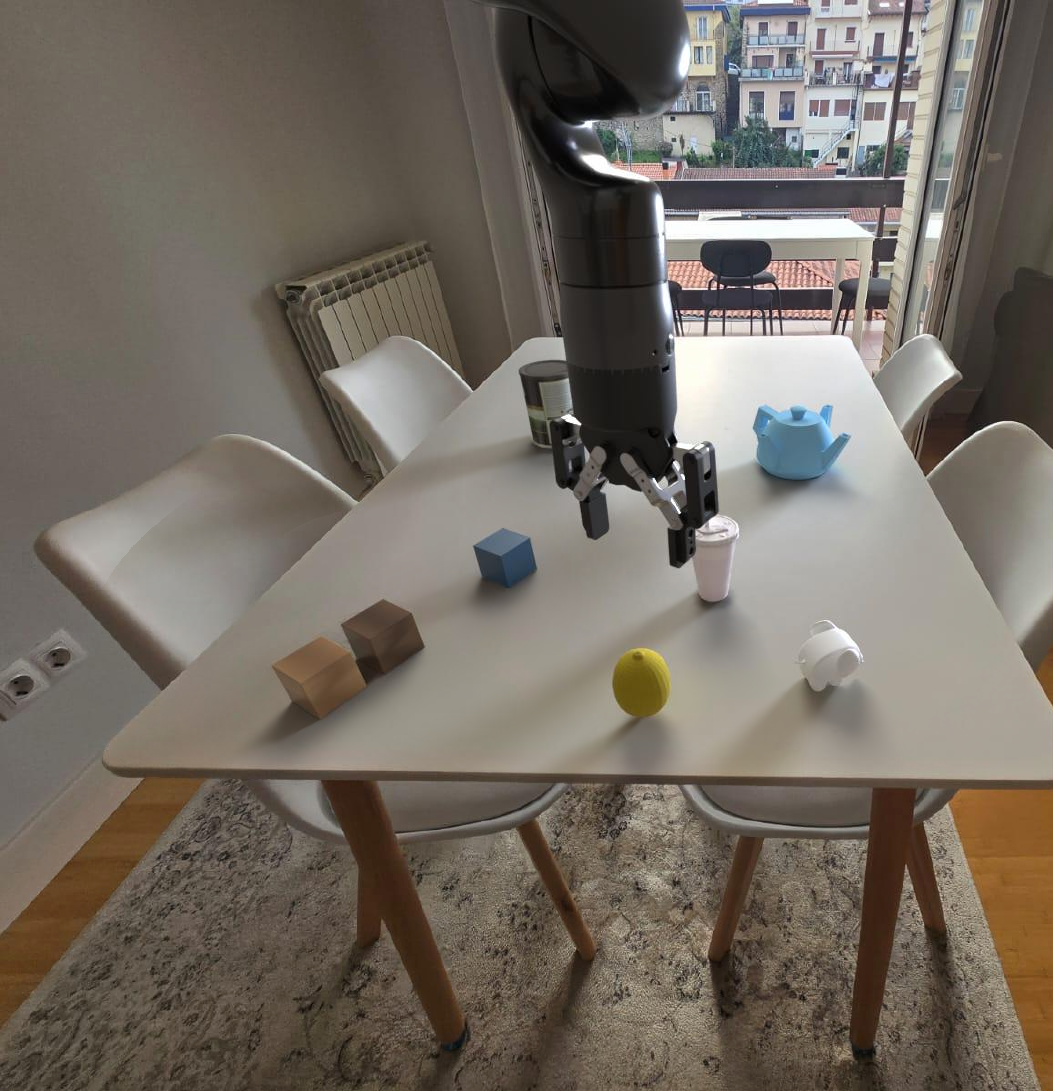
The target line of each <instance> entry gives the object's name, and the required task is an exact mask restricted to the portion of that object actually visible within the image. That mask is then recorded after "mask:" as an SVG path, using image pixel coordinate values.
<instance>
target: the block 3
mask: <svg viewBox="0 0 1053 1091" xmlns="http://www.w3.org/2000/svg"><path fill="white" fill-rule="evenodd" d="M472 548H473V551H474V554H475V558H476V561H477V564H478V568H479V572H480V575H481V578H483V579H485V580H488V581H490V582H493V583H495V584H497V585H500V586H502V587H504V588H507V589H510V588H511V587H513V586H514V585H516V584H517V583H519V582H520V581H522V580H523V579H524V578H526V577H527V576H528V575H530V574H531V573H533V572H534V571H536V570H538V567H537V563H536V558H535V553H534V549H533V545H532V540H531V537H529V536H527V535H524V534H521V533H518V532H516V531H513V530H510V529H508V528H505V527H501V529H499V530H497V531H495V532H494V533H491V534H490V535H488V536H486V537H485V538H483V539H482V540H480V541H478V542H476V543H475V544H473V545H472Z"/></svg>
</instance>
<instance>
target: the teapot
mask: <svg viewBox="0 0 1053 1091" xmlns="http://www.w3.org/2000/svg"><path fill="white" fill-rule="evenodd" d="M833 408H834V406H833V405H830V404H825V405H823V406H822V408H821V410H820V412H819V413H818V412H815V411H812V410H808V407H806V406H804V405H793V406H790V408H789V409H785V410H781V411H777V410H775V409H774V408H772V407H771V406H769V405H767V404H764V405H761V406H758V408H757V412H756V415H755V417H754V418H755V419H754V421H753V426H752V430H753V432H754V433H755V435H756V439H757V446H756V453H755V454H756V455H755V456H756V459H757V461H758V464H760V466H761V467H762V468H763V469H764V470H765V471H766V472H767V473H768V474H770V475H772V476H774V477H777V478H780V479H784V480H793V481H794V480H795V481H801V480H810V479H815V478H818V477H820V476H822V475H823V474H825V473H826V472H827V471H828V470H829V469H831V467H832V466H833V465H834V464H835V462H836V461H837V459H838V458H839V456H840V455H841V454H842V452H843V450H844V449H845V447H846V445H847V444H848V442H849V441H850V439H851V438H852V435H850V434H848V433H845V432H841V433H840V434H839V435H838V436H837V437H836V438H835V439H834V435H833V433H832V432H831V430H830V429H831V422H832V415H833Z"/></svg>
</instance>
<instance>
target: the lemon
mask: <svg viewBox="0 0 1053 1091" xmlns="http://www.w3.org/2000/svg"><path fill="white" fill-rule="evenodd" d="M671 680H672V679H671V673H670V670H669V668H668V665H667V663H666V661H665V660H664V659H663V657H662V656H661V655H660V654H659V653H658V652H657V651H655V650H653V649H649V648H643V647H641V648H640V647H637V648H633V649H631V650H628V651H626V652H625V653H624V654H623V655H622V656H621V657H620V658H619V659H618V660H617V662H616V664H615V665H614V669H613V674H612V682H611V685H612V691H613V692H612V693H613V696H614V699H615V701H616V703H617V704H618V706H619V708H620V709H621V710H623V712H625V713H626V714H628V715H629V716H632V717H635V718H648V717H651V716H653V715H655V714H657V713H659V712H661V710H663V708H664V707H665V705H667V702H668V700H669V698H670V694H671V689H672V682H671Z"/></svg>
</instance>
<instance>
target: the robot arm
mask: <svg viewBox="0 0 1053 1091" xmlns="http://www.w3.org/2000/svg"><path fill="white" fill-rule="evenodd" d="M468 2H472V3H473V4H476V5H479V6H482V7H483V6H484V7H489V8H494V11H493V19H492V20H493V23H492V31H493V32H492V34H493V35H492V36H493V46H494V47H493V48H494V55H495V61H496V65H497V68H498V71H499V76H500V80H501V83H502V86H503V89H504V91H505V95H506V98H507V101H508V103H509V106H510V108H511V111H512V114H513V116H514V120H515V122H516V125H517V127H518V130H519V132H520V135H521V137H522V140H523V144H524V146H525V148H526V151H527V153H528V157H529V160H530V163H531V165H532V168H533V171H534V173H535V176H536V179H537V181H538V183H539V185H540V189H541V191H542V194H543V198H544V200H545V202H546V205H547V208H548V211H549V216H550V224H551V234H552V242H553V248H554V256H555V264H556V270H557V276H558V277H557V278H558V280H559V282H558V286H559V319H560V327H561V334H562V342H563V349H564V355H565V361H566V364H567V372H568V378H569V386H570V393H571V400H572V407H573V412H571V413H569V414H566V415H564V416H562V417H559V418H557V419H555V420H552V421H551V422H550V424H549V427H550V435H551V444H552V449H551V453H552V460H553V468H554V474H555V475H554V477H555V483H556V486H558V487H559V488H560V489H561V490H565V489H569V490H570V491H572V492H573V496H574V498H575V499H576V500H577V501H578V503H579V509H580V516H581V523H582V527H583V529H584V531H585V535H586V538H588V539H590V540H593V541H597V540H599V539H601V538H602V537H603V536H605V535H606V534H607V533H609V530H610V519H609V518H610V517H609V510H608V503H607V502H608V501H607V493H606V492H604V491H602V490H603V489H604V488H605V486H607V485H606V484H607V483H608V484H610V485H614V486H625V487H626V488H629V489H630V490H632V491H635V492H639V493H643V495H644V496H645V498H646V500H647V501H648V502H649V504H650V505H651V506H652V507H654V508H658V510H659V511H660V512H661V514H662V515H663V517H664V519H665V520H666V522H667V523H668V525H669V526H668V527H667V528H666V529H667V530H666V531H667V545H668V562H669V566H670V567H673V568H675V569H680V568H682V567H683V566H684V565H685V564H686V563H687V562H689V561H690V560H692V557H693V556H694V555H695V552H696V541H695V540H696V530H695V529H700V528H701V527H702V526H703V525H704V524H705V523H706V522H708V521H709V520H710V519H711V518H713V517H714V516H716V515H719V512H720V508H719V507H720V506H719V504H720V503H719V492H718V491H719V490H718V478H717V461H716V460H717V458H716V449H715V446H714V444H713V443H712V442H710V441H708V440H705V441H703V442H701V443H700V444H689V443H684V442H680V440H679V437H678V436H677V433H676V430H675V422H676V417H677V413H678V393H677V392H678V390H677V389H678V388H677V387H678V386H677V369H676V350H675V349H676V346H675V344H676V343H675V326H674V325H675V322H674V312H673V305H672V300H671V293H670V286H669V280H668V278H669V275H668V274H669V273H668V256H667V254H668V253H667V237H666V236H667V235H666V232H667V230H666V229H667V228H666V214H665V213H666V212H665V205H664V198H663V195H662V191H661V189H660V187H659V186H658V184H657V182H655V181H654V180H653V179H651V178H650V177H648V176H645V175H643V174H640V173H637V172H633V171H630V170H626V169H622V168H619V167H617V166H616V165H614V164H613V163H612V162H611V160H609V158H608V156H607V154H606V152H605V150H604V148H603V145H602V142H601V140H600V138H599V135H598V132H597V128H596V124H595V123H612V122H613V123H614V122H641V121H647V120H652V119H655V118H658V117H660V116H661V115H663V114H665V113H667V112H668V111H669V110H671V108H672V107H673V106H674V105H675V104H676V102H677V101H678V100H679V99H680V97H681V96H682V93H683V91H684V89H685V86H686V84H687V80H688V78H689V74H690V69H691V68H690V67H691V59H692V58H691V57H692V40H691V31H690V25H689V21H688V16H687V12H686V8H685V4H684V1H683V0H468ZM585 449H586V450H585ZM585 451H587V452H588V455H589V458H588V460H587V461H586V452H585ZM676 462H677V463H678V465H679V467H678V466H677V464H676ZM570 465H571V468H570ZM664 478H665V479H666V481H667V486H666V487H665V488H661V487H660V486H659V483H660V482H661V481H662V480H663V479H664ZM673 499H674V500H673ZM674 501H675V502H676V503H675V502H674ZM676 504H677V505H676ZM678 507H679V508H678ZM0 1091H4V1090H3V1088H0Z"/></svg>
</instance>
